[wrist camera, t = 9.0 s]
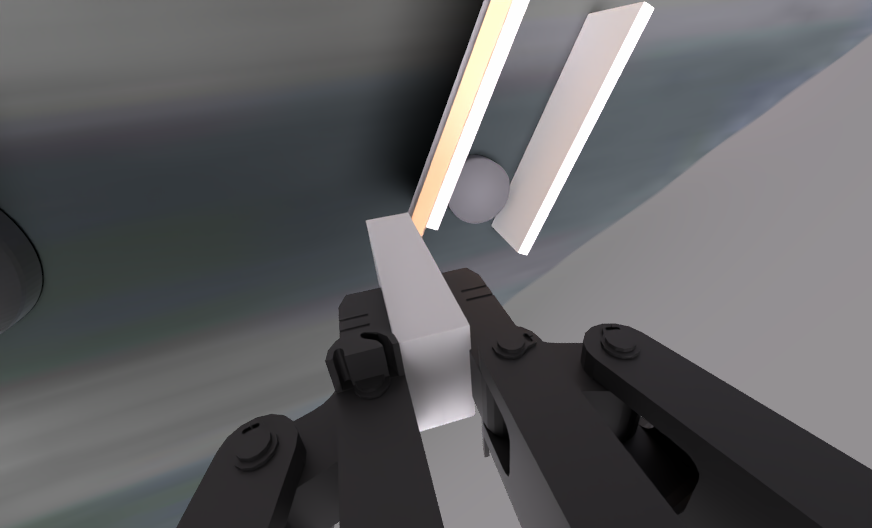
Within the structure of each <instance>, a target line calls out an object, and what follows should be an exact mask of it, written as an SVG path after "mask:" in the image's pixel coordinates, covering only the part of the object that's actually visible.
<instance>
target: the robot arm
mask: <svg viewBox="0 0 872 528" xmlns="http://www.w3.org/2000/svg"><path fill="white" fill-rule="evenodd" d="M366 224H367V229H368V234H369V239H370V243H371V248H372V253H373V258H374V263H375V268H376V272H377V277H378V282H379V287H380V288H377V289H372V290H368V291H363V292H359V293H354V294H350V295H346V296H345V298H344V299H343V301H342V303H341V304H340V306H339V329H340V339H338V340H337V341H336V342H335V343H334V344H333V345H332V347H331V348H330V349H329V350H328V353H327V356H326V360H325V362H326V365H327V368H328V371H329V373H330V376H331V379H332V382H333V385H334V388H335V392H334V393H333V395H332V396H331V397H330V398H329V399H328V400H327V401H326V402H325V403H324V404H322V405H321V406H319V407H318V408H316V409H315V410H313V411H312V412H310V413H308V414H306V415H304V416H303V417H301V418H299V419H297V420H295V421H292V420H291V419H289V418H288V417H286V416H284V415H275V414H270V415H266V416H261V417H257V418H255V419H253V420H251V421H249V422H247V423H245V424H244V425H242V426H240V427H239V428H238V429H237V430H236V431H234V432H233V433H232V434H231V435H230V436H229V437H227V439H226V440H225V441H224V443H223V444H222V446H221V447H220V448H219V450H218V451H217V453H216V455H215V456H214V458H213V460H212V462H211V464H210V466H209V468H208V470H207V471H206V473H205V475H204V477H203V479H202V481H201V483H200V485H199V486H198V488H197V490H196V492H195V494H194V496H193V498H192V499H191V501H190V503H189V505H188V507H187V509H186V511H185V513H184V514H183V516H182V518H181V520H180V522H179V524H178V526H177V528H334V525H335V524H336V523H338V522H339V521H340V528H444V526H443V522H442V518H441V514H440V510H439V506H438V502H437V498H436V494H435V490H434V487H433V483H432V479H431V475H430V471H429V467H428V463H427V459H426V455H425V451H424V447H423V443H422V439H421V435H420V431H423V430H427V429H430V428H434V427H437V426H441V425H444V424H447V423H450V422H454V421H457V420H461V419H464V418H468V417H471V416H474V415H475V404H476V406H477V408H478V410H479V413H480V415H481V417H482V435H483V450H484V455H485V457H488V456H489V450H490V453H491V455H492V457H493V460H494V462H495V464H496V467H497V469H498V472H499V474H500V476H501V479H502V481H503V484H504V486H505V489H506V491H507V493H508V496H509V498H510V500H511V503H512V505H513V507H514V510H515V513H516V515H517V517H518V520H519V522H520V525H521V527H522V528H872V470H871V469H870V468H868V467H866V466H865V465H863V464H861V463H860V462H858V461H856V460H855V459H853V458H851V457H850V456H848V455H846V454H845V453H843V452H841V451H840V450H838V449H836V448H835V447H833V446H831V445H829V444H828V443H826V442H825V441H823V440H821V439H819V438H818V437H816V436H815V435H813V434H811V433H809V432H808V431H806V430H804V429H803V428H801V427H799V426H798V425H796V424H794V423H793V422H791V421H789V420H788V419H786V418H784V417H783V416H781V415H779V414H778V413H776V412H774V411H772V410H771V409H769V408H768V407H766V406H764V405H763V404H761V403H759V402H758V401H756V400H754V399H753V398H751V397H749V396H748V395H746V394H744V393H743V392H741V391H739V390H738V389H736V388H734V387H733V386H731V385H729V384H727V383H726V382H724V381H722V380H721V379H719V378H717V377H716V376H714V375H712V374H711V373H709V372H707V371H706V370H704V369H702V368H701V367H699V366H697V365H696V364H694V363H692V362H691V361H689V360H687V359H686V358H684V357H682V356H681V355H679V354H677V353H676V352H674V351H672V350H670V349H669V348H667V347H666V346H664V345H662V344H661V343H659V342H657V341H656V340H654V339H652V338H650V337H649V336H647V335H645V334H644V333H642V332H640V331H638V330H636V329H633V328H631V327H629V326H624V325H619V324H601V325H597V326H594V327H591V328H590V329H589V330H588V331H587V332H586V333H585V336H584V340H583V343H547V342H543V341H542V340H541V339H540V338H539V337H538V336H537V335H536V334H534V333H533V332H532V331H530V330H527V329H525V328H523V327H518V326H516V325H515V324H514V322H513V321H512V320H511V318H510V317H509V315H508V314H507V313H506V311H505V310H504V309H503V307H502V306H501V304H500V303H499V302H498V300H497V299H496V298H495V296H494V295H493V294H492V292H491V291H490V289H489V288H488V287H487V286H486V284H485V282H484V281H483V280H482V278H481V277H480V275H478V274H477V273H475V272H473V271H471V270H469V269H468V268H462V269H458V270H453V271H449V272H444V273H441V272H440V270H439V268H438V266H437V265H436V263H435V261H434V259H433V257H432V255H431V254H430V252H429V250H428V248H427V246H426V244H425V243H424V241H423V239H422V237H421V235H420V234H419V232H418V230H417V228H416V226H415V224H414V223H413V221H412V219H411V217H410V215H409V213H402V214H397V215H392V216H386V217H381V218H376V219H370V220H366ZM41 288H42V271H41V266H40V263H39V260H38V257H37V255H36V252H35V251H34V249H33V247H32V245H31V244H30V242H29V240H28V239H27V238H26V236H25V235H24V234H23V232H22V231H21V230H20V229H19V228H18V227H17V226H16V224H15V223H14V222H13V221H12V220H11V219H10V218H8V217H7V216H6V215H5V214H4V213H3V212H2V211H0V334H2V333H3V332H5V331H6V330H7V329H9V328H10V327H11V326H12V325H14V324H15V323H16V322H17V321H19V320H20V319H21V318H23V317H24V316H25V315H26V314H27V313H28V312H29V311H30V310H31V309H32V308H33V306H34V305H35V304H36V302H37V300H38V298H39V295H40V292H41ZM474 401H475V403H474ZM641 416H642V417H643V418H642V417H641Z"/></svg>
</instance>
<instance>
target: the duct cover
mask: <svg viewBox="0 0 872 528" xmlns="http://www.w3.org/2000/svg"><path fill="white" fill-rule="evenodd" d="M513 1H514V0H484V2H483V5H482V8H481V11H480V14H479V16H478V19H477V22H476V25H475V28H474V30H473V33H472V36H471V39H470V41H469V44H468V47H467V50H466V53H465V55H464V58H463V61H462V64H461V67H460V69H459V72H458V75H457V78H456V80H455V83H454V86H453V89H452V92H451V94H450V97H449V100H448V103H447V105H446V108H445V111H444V114H443V117H442V119H441V122H440V125H439V128H438V131H437V133H436V136H435V139H434V142H433V144H432V147H431V150H430V153H429V156H428V158H427V161H426V164H425V167H424V170H423V172H422V175H421V178H420V181H419V183H418V186H417V189H416V192H415V195H414V197H413V200H412V203H411V206H410V209H409V211H408V213H409V215H410V217H411V219H412V221H413V223H414V224H415V226H416V228H417V230H418V232H419V234H420V235H421V237H422V236H423V234H424V231H425V229H426V226H427V224H428V221H429V219H430V216H431V214H432V211H433V208H434V206H435V203H436V201H437V198H438V195H439V193H440V190H441V188H442V185H443V182H444V180H445V177H446V175H447V172H448V169H449V167H450V164H451V162H452V159H453V156H454V154H455V151H456V149H457V146H458V143H459V141H460V138H461V136H462V133H463V131H464V128H465V125H466V123H467V120H468V118H469V115H470V112H471V110H472V107H473V105H474V102H475V99H476V97H477V94H478V92H479V89H480V86H481V84H482V81H483V79H484V76H485V73H486V71H487V68H488V66H489V63H490V61H491V58H492V55H493V53H494V50H495V48H496V45H497V42H498V40H499V37H500V35H501V32H502V29H503V27H504V24H505V22H506V19H507V16H508V14H509V11H510V9H511V6H512V3H513Z"/></svg>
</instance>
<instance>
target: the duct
mask: <svg viewBox="0 0 872 528" xmlns="http://www.w3.org/2000/svg"><path fill="white" fill-rule="evenodd" d="M483 2H484V1H483ZM528 3H529V0H514V1H513V3H512V6H511V9H510V11H509V14H508V16H507V19H506V22H505V24H504V27H503V29H502V32H501V35H500V37H499V40H498V42H497V45H496V48H495V50H494V53H493V55H492V58H491V61H490V63H489V66H488V68H487V71H486V73H485V76H484V79H483V81H482V84H481V86H480V89H479V92H478V94H477V97H476V99H475V102H474V105H473V107H472V110H471V112H470V115H469V118H468V120H467V123H466V125H465V128H464V131H463V133H462V136H461V138H460V141H459V143H458V146H457V149H456V151H455V154H454V156H453V159H452V162H451V164H450V167H449V169H448V172H447V175H446V177H445V180H444V182H443V185H442V188H441V190H440V193H439V195H438V198H437V201H436V203H435V206H434V208H433V211H432V214H431V216H430V219H429V221H428V224H427V226H426V227H428V228H431V229H435V230H438V228H439V225H440V223H441V220H442V218H443V215H444V213H445V210H446V208H447V205H448V203H449V200H450V198H451V195H452V193H453V190H454V188H455V185H456V183H457V180H458V178H459V175H460V173H461V170H462V168H463V165H464V163H465V160H466V158H467V155H468V153H469V150H470V148H471V145H472V143H473V140H474V138H475V135H476V133H477V130H478V128H479V125H480V123H481V120H482V118H483V115H484V113H485V110H486V108H487V105H488V103H489V100H490V98H491V95H492V93H493V90H494V88H495V85H496V83H497V80H498V78H499V75H500V73H501V70H502V68H503V65H504V63H505V60H506V58H507V55H508V53H509V50H510V48H511V45H512V43H513V40H514V38H515V35H516V33H517V30H518V28H519V25H520V23H521V20H522V18H523V15H524V13H525V10H526V8H527V5H528ZM482 5H483V4H482ZM481 8H482V7H481ZM653 10H654V8H653V7H652V6H650V5H649V4H648V3H646V2H645V1H644V2H640V3H635V4H631V5H626V6H621V7H617V8H612V9H608V10H603V11H599V12H594V13H590V14H588V16H587V18H586V20H585V22H584V24H583V27H582V29H581V31H580V33H579V35H578V38H577V40H576V42H575V44H574V46H573V48H572V51H571V53H570V55H569V57H568V59H567V62H566V64H565V66H564V68H563V70H562V72H561V75H560V77H559V79H558V81H557V83H556V86H555V88H554V90H553V92H552V94H551V96H550V99H549V101H548V103H547V105H546V107H545V110H544V112H543V114H542V116H541V118H540V120H539V123H538V125H537V127H536V129H535V131H534V134H533V136H532V138H531V140H530V142H529V144H528V147H527V149H526V151H525V153H524V155H523V158H522V160H521V162H520V164H519V166H518V168H517V171H516V173H515V175H514V177H513V179H512V182H511V184H510V193H509V197H508V200H507V202H506V204H505V206H504V208H503V209H502V210H501V211H500V212H499V213H498V214H497V215H496V216H495V219H494V221H493V223H492V225H491V226H492V227H493V228H494V229H495V230H496V231H497V232H498V233H499V234H500V235H501V236H502V237H503V238H504V239H505V240H506V241H507V242H508V243H509V244H510V245H511V246H512V247H513V248H514V249H515V250H516V251H517V252H518V253H521V254H524V255H527V254H528V252H529V251H530V249H531V247H532V245H533V243H534V241H535V239H536V237H537V235H538V233H539V231H540V229H541V227H542V225H543V223H544V221H545V219H546V218H547V216H548V214H549V212H550V210H551V208H552V206H553V204H554V202H555V200H556V198H557V196H558V194H559V192H560V190H561V188H562V187H563V185H564V183H565V181H566V179H567V177H568V175H569V173H570V171H571V169H572V167H573V165H574V163H575V161H576V159H577V157H578V155H579V154H580V152H581V150H582V148H583V146H584V144H585V142H586V140H587V138H588V136H589V134H590V132H591V130H592V128H593V126H594V124H595V123H596V121H597V119H598V117H599V115H600V113H601V111H602V109H603V107H604V105H605V103H606V101H607V99H608V97H609V95H610V93H611V91H612V90H613V88H614V86H615V84H616V82H617V80H618V78H619V76H620V74H621V72H622V70H623V68H624V66H625V64H626V62H627V60H628V59H629V57H630V55H631V53H632V51H633V49H634V47H635V45H636V43H637V41H638V39H639V37H640V35H641V33H642V31H643V29H644V27H645V26H646V24H647V22H648V20H649V18H650V16H651V14H652V12H653ZM480 11H481V10H480ZM479 14H480V13H479ZM478 16H479V15H478ZM477 19H478V18H477ZM476 22H477V21H476ZM475 25H476V24H475ZM474 28H475V27H474ZM473 30H474V29H473ZM472 33H473V32H472ZM471 36H472V35H471ZM470 39H471V38H470ZM469 41H470V40H469ZM468 44H469V43H468ZM467 47H468V46H467ZM466 50H467V49H466ZM465 53H466V52H465ZM464 55H465V54H464ZM463 58H464V57H463ZM462 61H463V60H462ZM461 64H462V63H461ZM460 67H461V66H460ZM459 69H460V68H459ZM458 72H459V71H458ZM457 75H458V74H457ZM456 78H457V77H456ZM454 83H455V82H454ZM453 86H454V85H453ZM452 89H453V88H452ZM451 92H452V91H451ZM450 94H451V93H450ZM449 97H450V96H449ZM448 100H449V99H448ZM447 103H448V102H447ZM445 108H446V107H445ZM444 111H445V110H444ZM443 114H444V113H443ZM442 117H443V116H442ZM440 122H441V121H440ZM439 125H440V124H439ZM438 128H439V127H438ZM437 131H438V130H437ZM436 133H437V132H436ZM435 136H436V135H435ZM434 139H435V138H434ZM433 142H434V141H433ZM431 147H432V146H431ZM430 150H431V149H430ZM429 153H430V152H429ZM428 156H429V155H428ZM426 161H427V160H426ZM425 164H426V163H425ZM424 167H425V166H424ZM423 170H424V169H423ZM422 172H423V171H422ZM421 175H422V174H421ZM420 178H421V177H420ZM419 181H420V180H419ZM417 186H418V185H417ZM416 189H417V188H416ZM415 192H416V191H415ZM414 195H415V194H414ZM412 200H413V199H412Z"/></svg>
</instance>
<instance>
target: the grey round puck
mask: <svg viewBox="0 0 872 528" xmlns="http://www.w3.org/2000/svg"><path fill="white" fill-rule="evenodd" d="M509 193H510V182H509V178H508V176H507V174H506V172H505V170H504V169H503V168H502V167H501V166H500V165H498V164H497V163H495V162H493V161H492V160H490V159H488V158H487V157H484V156H481V155H467V158H466V160H465V163H464V165H463V168H462V170H461V173H460V175H459V178H458V180H457V183H456V185H455V188H454V190H453V193H452V195H451V198H450V200H449V203H448V207H449V208H450V209H451V210H452V211H453V213H454V214H455V215H456V216H457V217H458V218H459V219H461V220H463V221H465V222H468V223H482V222H486V221H488V220H490V219H492V218H494V217H495V216H496V215H497V214H498V213H499V212H500V211H501V210H502V209H503V208H504V206H505V204H506V202H507V200H508V197H509Z"/></svg>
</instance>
